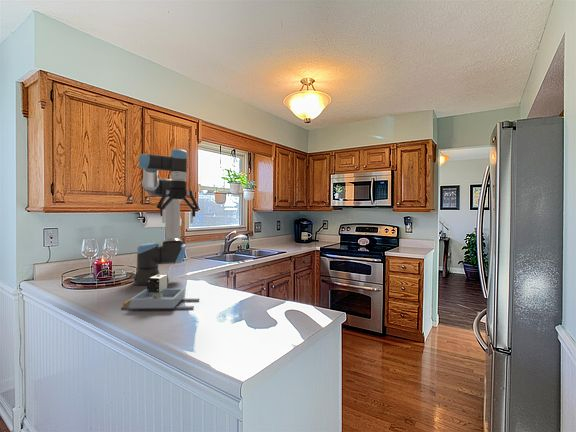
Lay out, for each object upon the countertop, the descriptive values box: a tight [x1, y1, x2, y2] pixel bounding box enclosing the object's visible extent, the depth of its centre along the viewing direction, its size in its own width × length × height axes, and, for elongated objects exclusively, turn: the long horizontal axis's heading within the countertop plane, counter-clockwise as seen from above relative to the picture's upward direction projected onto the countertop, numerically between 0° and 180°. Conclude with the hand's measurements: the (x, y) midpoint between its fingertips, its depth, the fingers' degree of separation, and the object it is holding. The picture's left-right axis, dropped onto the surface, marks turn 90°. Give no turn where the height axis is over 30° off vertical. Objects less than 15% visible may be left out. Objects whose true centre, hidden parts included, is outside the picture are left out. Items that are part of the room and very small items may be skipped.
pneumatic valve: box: [146, 273, 170, 299], centre depth 140 cm, size 6×12×12 cm, turn 177°
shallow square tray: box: [129, 288, 185, 308], centre depth 140 cm, size 18×18×4 cm
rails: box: [120, 297, 200, 311], centre depth 140 cm, size 14×31×2 cm, turn 95°
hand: (177, 223), depth 155 cm, fingers open, 13 cm apart
